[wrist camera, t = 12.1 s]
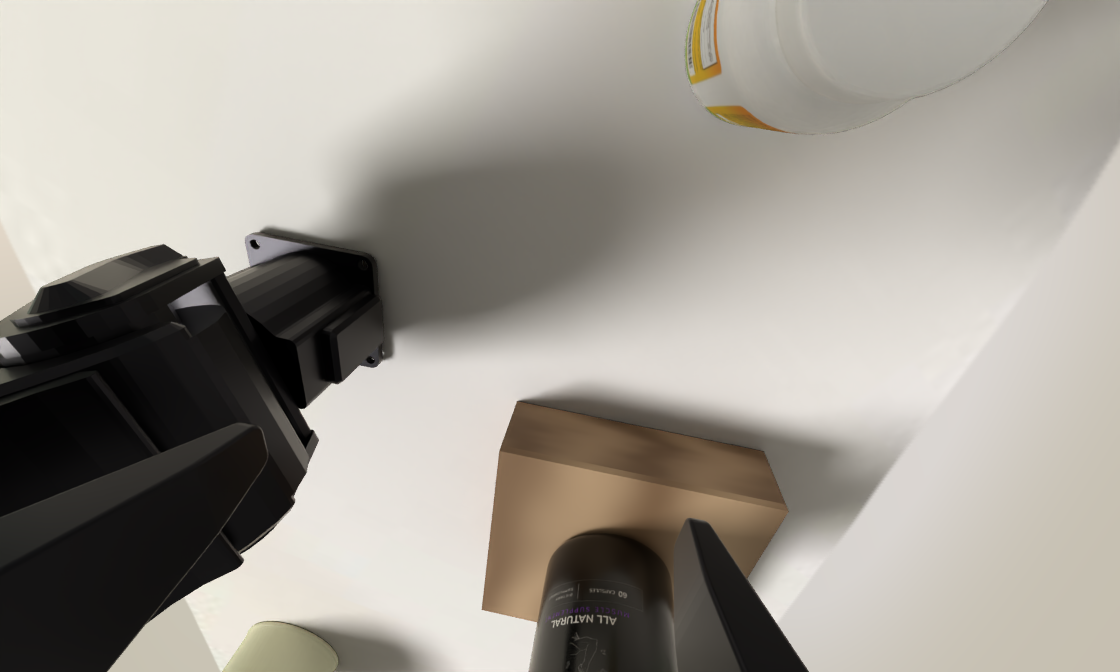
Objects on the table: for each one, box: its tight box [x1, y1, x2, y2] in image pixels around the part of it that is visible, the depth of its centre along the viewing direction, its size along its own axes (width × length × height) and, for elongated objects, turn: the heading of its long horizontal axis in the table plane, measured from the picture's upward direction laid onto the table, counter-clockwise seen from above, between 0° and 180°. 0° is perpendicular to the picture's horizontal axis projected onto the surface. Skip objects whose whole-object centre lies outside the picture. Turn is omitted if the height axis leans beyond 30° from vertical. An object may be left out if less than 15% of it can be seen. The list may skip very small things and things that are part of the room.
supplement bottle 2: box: [685, 0, 1048, 135], centre depth 11 cm, size 5×5×10 cm
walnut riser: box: [482, 401, 789, 622], centre depth 25 cm, size 14×14×4 cm
